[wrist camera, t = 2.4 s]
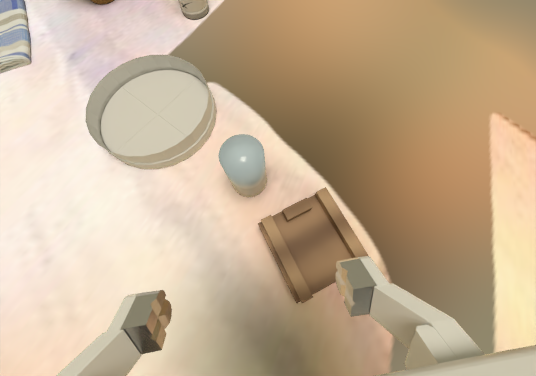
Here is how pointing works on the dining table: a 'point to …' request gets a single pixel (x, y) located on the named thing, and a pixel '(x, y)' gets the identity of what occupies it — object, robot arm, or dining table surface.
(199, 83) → the dish
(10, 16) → the dish towel
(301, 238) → the chest
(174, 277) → the dining table surface
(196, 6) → the travel mug
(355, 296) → the robot arm
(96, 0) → the plant pot
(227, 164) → the grey domed cylinder
